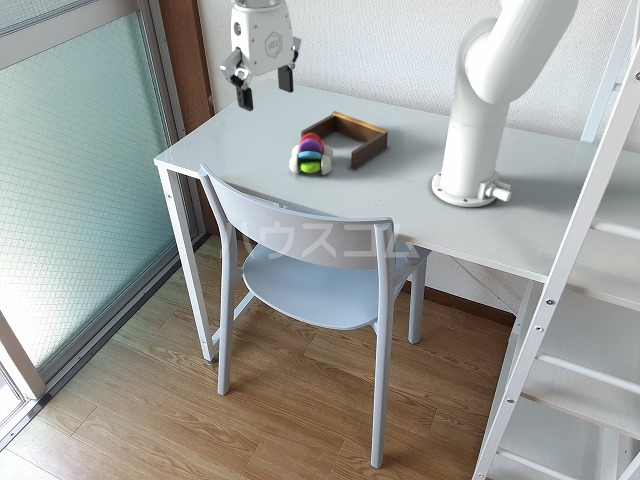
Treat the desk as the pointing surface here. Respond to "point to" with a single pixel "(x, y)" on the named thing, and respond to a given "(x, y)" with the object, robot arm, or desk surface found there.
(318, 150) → the rainbow white-wheeled buggy
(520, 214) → the desk surface
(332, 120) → the garage
